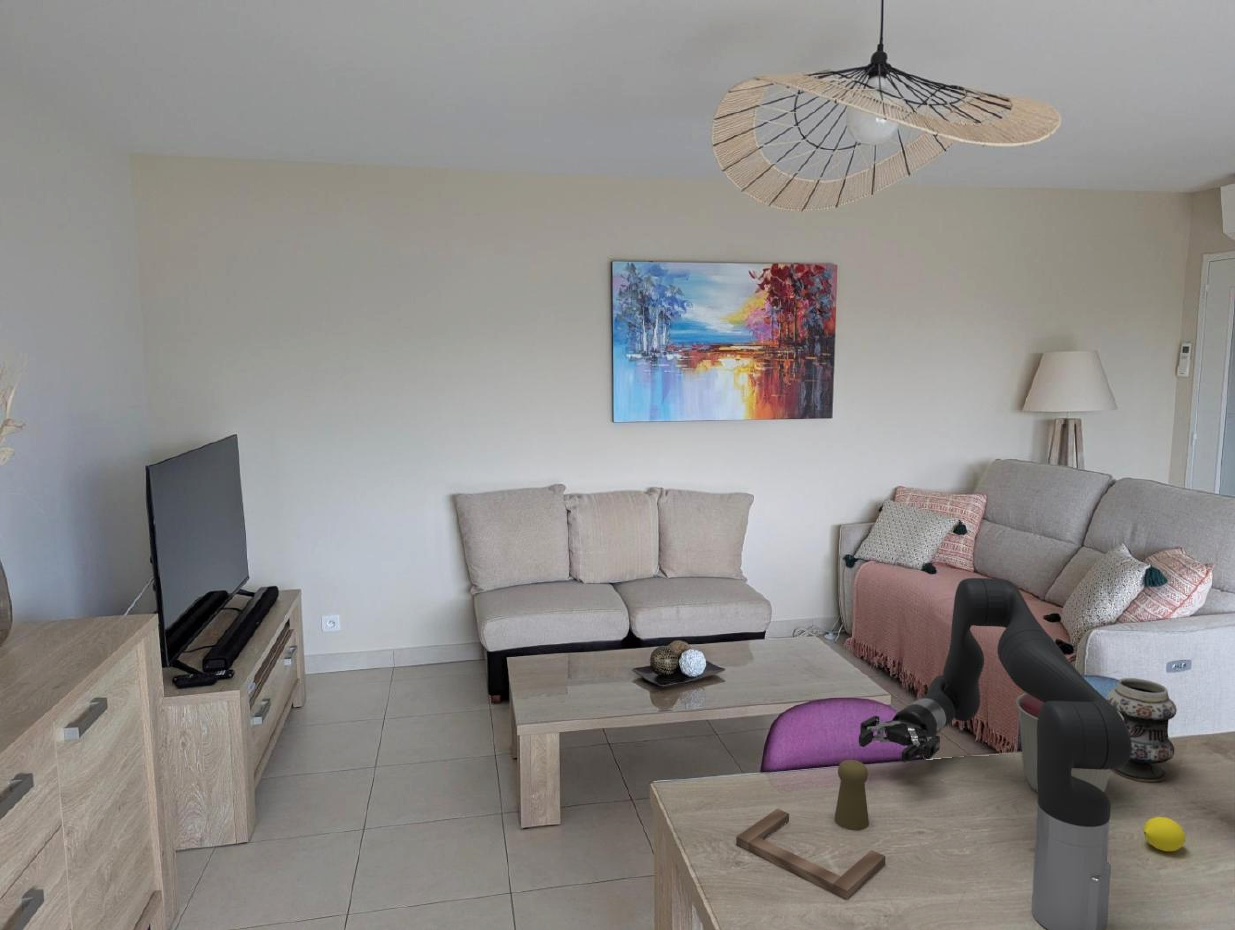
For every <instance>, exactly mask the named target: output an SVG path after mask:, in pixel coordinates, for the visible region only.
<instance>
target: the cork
mask: <svg viewBox="0 0 1235 930" xmlns="http://www.w3.org/2000/svg"><path fill="white" fill-rule="evenodd" d="M837 774H838V778H839V780H840V784H839V788H838V789H839V790H838V795H837V801H836V807H835V812H834V822H835V823H836V824H837V825H838V826H840V828H843V829H845V830H849V831H861V830H865V829H867V828H868V827H869V825H870V820H869V812H868V810H869V809H868V803H867V802H868V801H867V795H866V794H867V793H866V784H865V783H866V782H868V781H867V780H868V777H869V770H868V768H867V766H866V765H865V763H863V762H861V761H859V760H855V759H845V760H842V761H841V762H840V763H839V765H838V769H837Z"/></svg>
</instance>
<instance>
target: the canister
mask: <svg viewBox="0 0 1235 930" xmlns="http://www.w3.org/2000/svg"><path fill="white" fill-rule="evenodd" d="M1043 704H1044V702H1042V701H1040V700H1038V699H1036V698H1034V697H1033V696H1031V695H1029V694H1028V693H1026V692H1025V693H1022V694H1020V695H1018V696H1017V697H1016V699H1015V706H1016V709H1018V711H1019V713H1018V714H1019V725H1020V726H1019V727H1020V729H1019V730H1020V740H1021V741H1020V742H1021V757H1022V765H1023V772H1024V775H1025V779H1026V780H1027V782H1028V784H1029V786H1030V787H1031V788H1032V789H1033V790H1034V791H1035V792H1037V793H1038V785H1037V720H1038V714H1039V710H1040V708H1041V706H1042V705H1043ZM1118 713H1119V712H1118ZM1119 714H1120V713H1119ZM1120 716H1121V717H1122V719H1123V720H1124V718H1123V716H1122V715H1121V714H1120ZM1110 773H1111V769H1107V770H1098V769H1077V768H1072V771H1071V776H1074V777H1076V778H1078V779H1081V780H1084V781H1086V782H1088V783H1090V784H1092V785H1094V786H1096V787H1098V788H1099V789H1100V790H1102V791H1103V792H1104V793H1105V792H1106V788H1107V785H1108V780H1109V777H1110Z"/></svg>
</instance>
